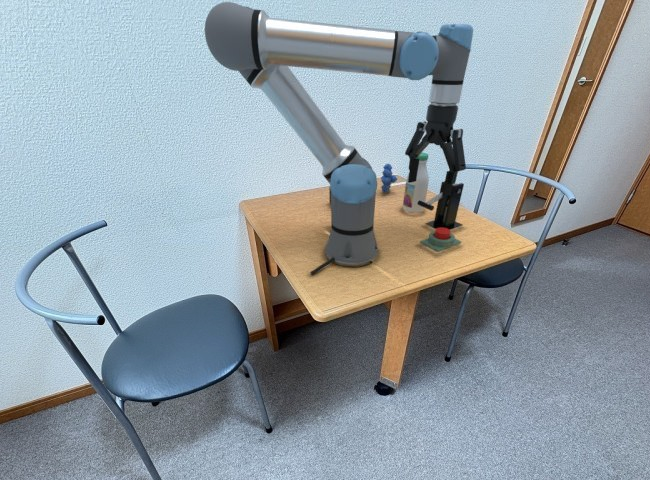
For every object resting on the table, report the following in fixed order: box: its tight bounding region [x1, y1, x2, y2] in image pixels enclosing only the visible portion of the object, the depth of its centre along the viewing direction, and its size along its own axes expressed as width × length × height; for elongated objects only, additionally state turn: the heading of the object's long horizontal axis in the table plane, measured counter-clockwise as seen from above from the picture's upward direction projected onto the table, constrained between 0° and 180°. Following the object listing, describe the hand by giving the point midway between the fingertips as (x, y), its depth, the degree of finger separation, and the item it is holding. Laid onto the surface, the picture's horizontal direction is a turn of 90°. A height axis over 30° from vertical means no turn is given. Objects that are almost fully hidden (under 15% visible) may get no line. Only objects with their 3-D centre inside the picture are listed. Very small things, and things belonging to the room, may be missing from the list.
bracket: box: [424, 180, 465, 231], centre depth 104 cm, size 10×8×15 cm
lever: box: [417, 182, 457, 212], centre depth 100 cm, size 13×6×2 cm, turn 123°
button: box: [434, 227, 452, 240], centre depth 96 cm, size 4×4×2 cm
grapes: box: [380, 163, 398, 194], centre depth 131 cm, size 12×7×12 cm, turn 165°
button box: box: [419, 230, 462, 253], centre depth 97 cm, size 10×7×4 cm
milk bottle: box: [402, 152, 430, 214], centre depth 113 cm, size 8×8×20 cm
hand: (428, 188), depth 95 cm, fingers open, 13 cm apart
